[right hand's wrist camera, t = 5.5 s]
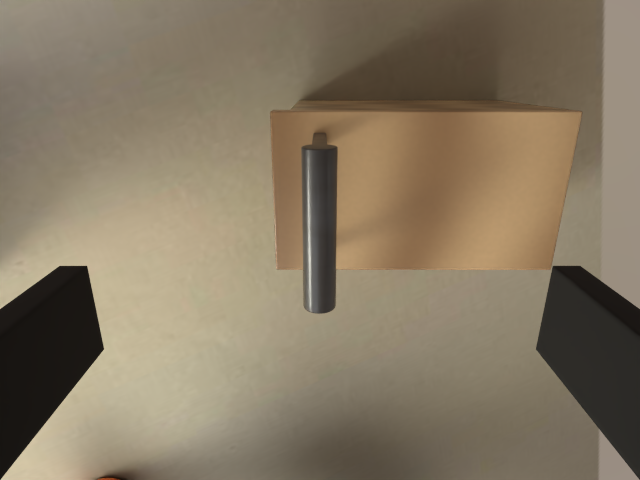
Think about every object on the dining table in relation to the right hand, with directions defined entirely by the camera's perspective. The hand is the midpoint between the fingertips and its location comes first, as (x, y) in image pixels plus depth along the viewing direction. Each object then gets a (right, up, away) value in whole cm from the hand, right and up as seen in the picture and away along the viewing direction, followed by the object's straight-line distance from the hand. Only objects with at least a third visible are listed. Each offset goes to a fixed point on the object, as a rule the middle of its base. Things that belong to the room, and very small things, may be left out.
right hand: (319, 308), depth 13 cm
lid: (+6, +5, +13) cm, 15 cm away
